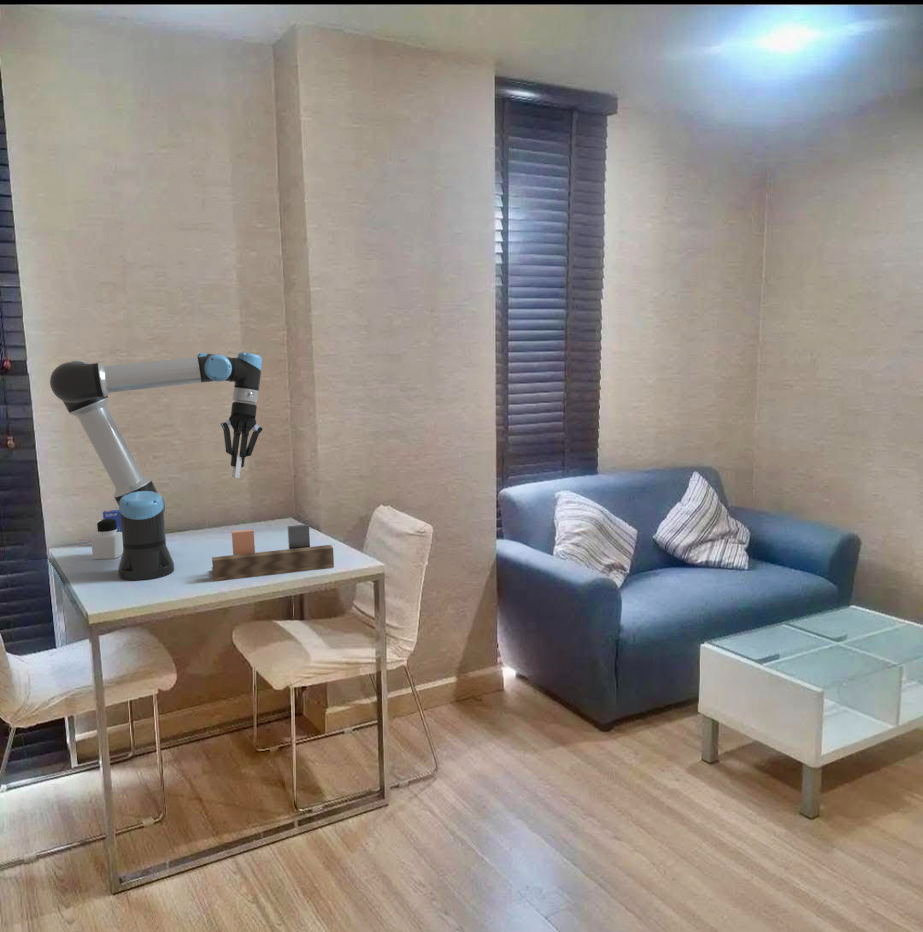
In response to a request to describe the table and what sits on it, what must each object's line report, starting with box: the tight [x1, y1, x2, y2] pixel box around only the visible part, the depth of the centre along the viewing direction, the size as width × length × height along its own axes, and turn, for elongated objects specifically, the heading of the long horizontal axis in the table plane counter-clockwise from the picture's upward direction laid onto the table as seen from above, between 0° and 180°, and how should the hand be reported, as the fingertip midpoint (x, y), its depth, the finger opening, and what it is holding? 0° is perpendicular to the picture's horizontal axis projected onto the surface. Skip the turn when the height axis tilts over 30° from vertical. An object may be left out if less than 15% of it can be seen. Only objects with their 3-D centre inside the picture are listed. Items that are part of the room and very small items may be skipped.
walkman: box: [102, 509, 122, 532], centre depth 262 cm, size 8×3×12 cm, turn 107°
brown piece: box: [211, 544, 335, 582], centre depth 229 cm, size 34×12×6 cm, turn 111°
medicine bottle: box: [90, 518, 123, 560], centre depth 247 cm, size 7×7×12 cm
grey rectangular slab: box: [287, 523, 311, 549], centre depth 231 cm, size 6×2×11 cm, turn 111°
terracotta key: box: [231, 529, 256, 555], centre depth 226 cm, size 6×2×11 cm, turn 111°
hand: (235, 477), depth 243 cm, fingers closed
